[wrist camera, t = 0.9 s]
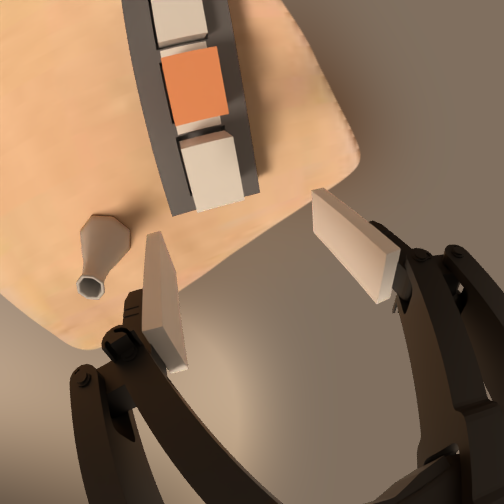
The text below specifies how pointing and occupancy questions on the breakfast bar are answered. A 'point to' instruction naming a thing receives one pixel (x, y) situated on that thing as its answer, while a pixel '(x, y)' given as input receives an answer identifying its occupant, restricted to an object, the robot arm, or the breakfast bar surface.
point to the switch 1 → (178, 21)
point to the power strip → (159, 107)
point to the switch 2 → (195, 85)
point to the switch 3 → (212, 170)
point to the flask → (100, 253)
